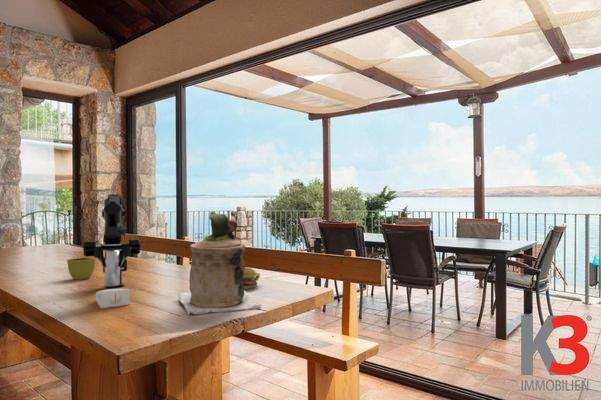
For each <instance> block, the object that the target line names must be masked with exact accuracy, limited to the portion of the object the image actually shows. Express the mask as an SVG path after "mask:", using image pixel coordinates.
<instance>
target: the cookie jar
mask: <svg viewBox="0 0 601 400" xmlns="http://www.w3.org/2000/svg"><path fill="white" fill-rule="evenodd" d="M208 219H209V220H210V227H211V228H210V229H211V233H212V234H209V236H206V237H205V238H204V239H202V240H201V241H199V242H196V243H192V244H189V249H190V251H191V253H192V254H191V263H190V269H189V280H188V281H189V292H180V293H178V298H179V302H180V303H181V304H182V305H183V307H184V309H185V311H186V313H187V315H188V316H189V315H190V314H193V315H203V314H208V313H227V312H235V311H247V310H248V311H249V310H250V311H251V310H257V309H259V308H261V306H262V302H261V301H260V300H259V299H257V298H255V297H254V296H253V295H252V294H250V293H248V292H247V291H246V289H244V287H243V284H242V279H243V276H244V271H245V269H246V268H245V267H246V256H245V251H246V244H244V243H241V242H240V241H239V240H238V239H236V238H235V235H234V233H233V232H235V231H237V226H238V222H237V221H236V220H233V219H229V216H228V215H227V214H226V213H217V212H215V211H210V213H209V217H208Z"/></svg>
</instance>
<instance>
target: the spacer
mask: <svg viewBox="0 0 601 400" xmlns="http://www.w3.org/2000/svg"><path fill="white" fill-rule="evenodd" d="M104 258H105V273H104V286H105V287H106V286H117V285H120V250H107V251H104Z"/></svg>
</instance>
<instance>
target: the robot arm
mask: <svg viewBox="0 0 601 400" xmlns="http://www.w3.org/2000/svg"><path fill="white" fill-rule="evenodd" d="M103 203H104V205H103V208H102V209H101V218H102V219H104V220H103V221H104V233H103V234H104V235H103V243H101V242H97V241H96V240H86V241H84V242H83V243H82V249H83V256H84V257H87V258H89V257H93V258H94V259H98V261H99V262H100V263H101V266H102V272H103V274H105V253H104V252H105V251H107V250H120V285H117V286H105V287H106V288H108V289H113V288H119V287H121V288H122V287H125V285H124V283H123V272H127V271H128V260H127V258H128V257H131V255H139V254H141V240H140V239H128V243H122V236H126V225H122V221H123V219H124V218H125V216H127V215H126V214H127V213H126V199H124V198H123V197H122V196H121V194H119V193H109V194H108V195H107V197H106V199H104V202H103Z"/></svg>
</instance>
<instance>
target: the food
mask: <svg viewBox="0 0 601 400" xmlns="http://www.w3.org/2000/svg"><path fill="white" fill-rule="evenodd" d="M245 268H246V269H245V271H244V276H243V279H242V284H243V287H244V290H249V289H253V288H256V287H257V285H258V281H259V279H260V275H261V274H260V273H259V272H256V270H255V269H253V268H252V267H248V266H245Z"/></svg>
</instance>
